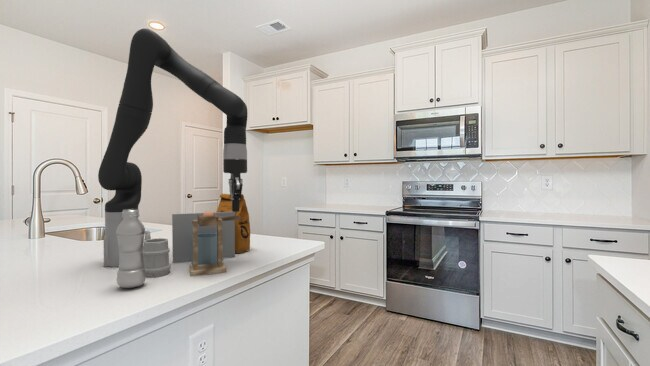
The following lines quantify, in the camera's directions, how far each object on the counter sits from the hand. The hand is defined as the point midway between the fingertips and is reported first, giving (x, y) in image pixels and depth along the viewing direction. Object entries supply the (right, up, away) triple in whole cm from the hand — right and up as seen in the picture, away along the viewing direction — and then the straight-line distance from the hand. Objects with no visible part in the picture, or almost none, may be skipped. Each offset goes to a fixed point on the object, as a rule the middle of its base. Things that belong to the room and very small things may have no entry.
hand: (235, 211), depth 105 cm
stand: (-6, -17, -8) cm, 20 cm away
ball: (-5, 0, -11) cm, 12 cm away
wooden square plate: (-3, -3, -6) cm, 7 cm away
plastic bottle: (-21, -18, -22) cm, 35 cm away
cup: (-10, -17, +1) cm, 20 cm away
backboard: (-12, -17, +6) cm, 22 cm away
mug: (-22, -18, -9) cm, 30 cm away
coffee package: (-6, -17, +19) cm, 26 cm away
